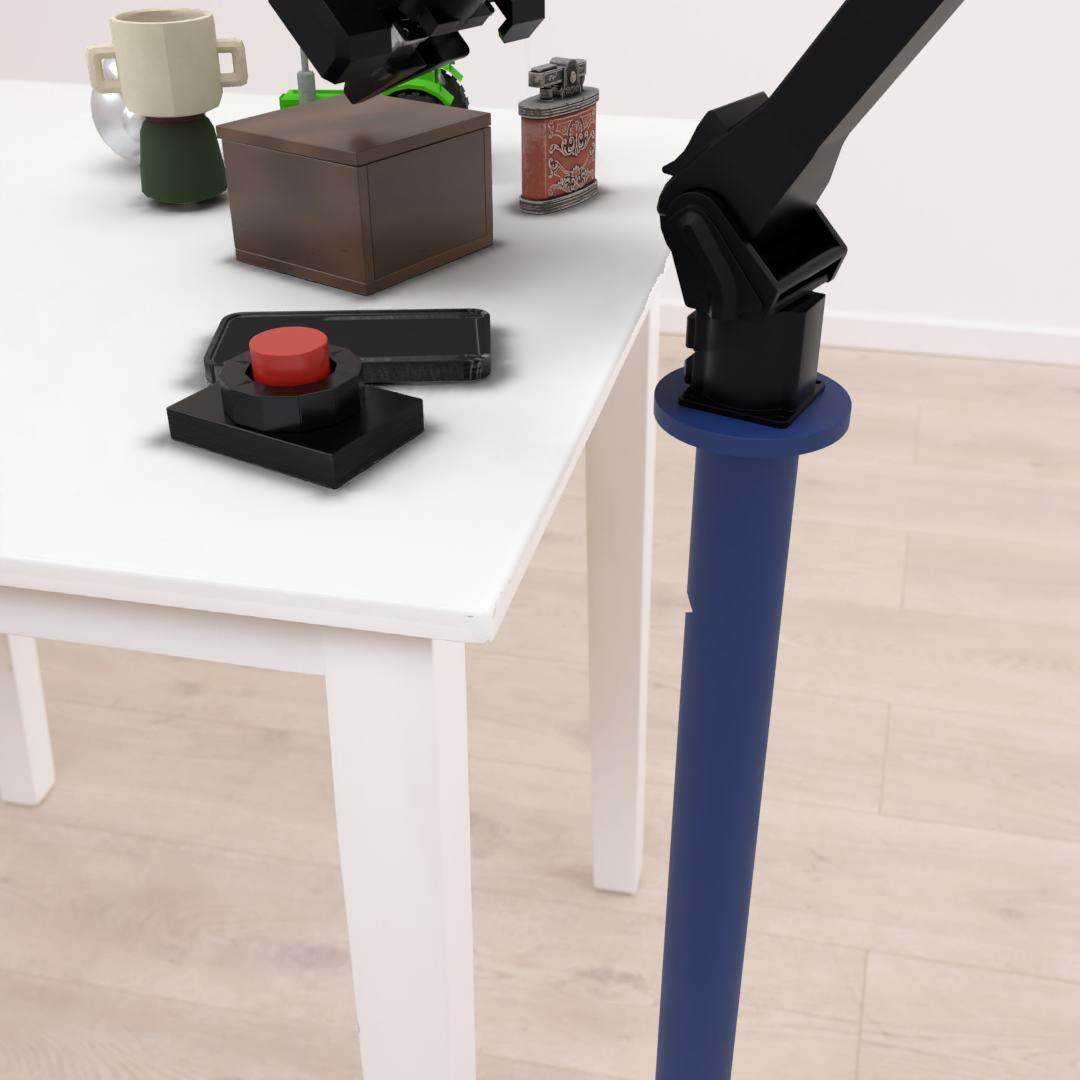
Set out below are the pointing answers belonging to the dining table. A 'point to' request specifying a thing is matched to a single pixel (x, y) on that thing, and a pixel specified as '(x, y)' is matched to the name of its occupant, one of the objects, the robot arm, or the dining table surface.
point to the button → (289, 356)
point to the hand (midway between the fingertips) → (351, 97)
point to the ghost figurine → (116, 120)
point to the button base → (299, 420)
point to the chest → (361, 211)
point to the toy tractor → (423, 89)
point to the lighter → (558, 137)
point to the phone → (376, 341)
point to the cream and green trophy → (171, 95)
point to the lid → (353, 128)
